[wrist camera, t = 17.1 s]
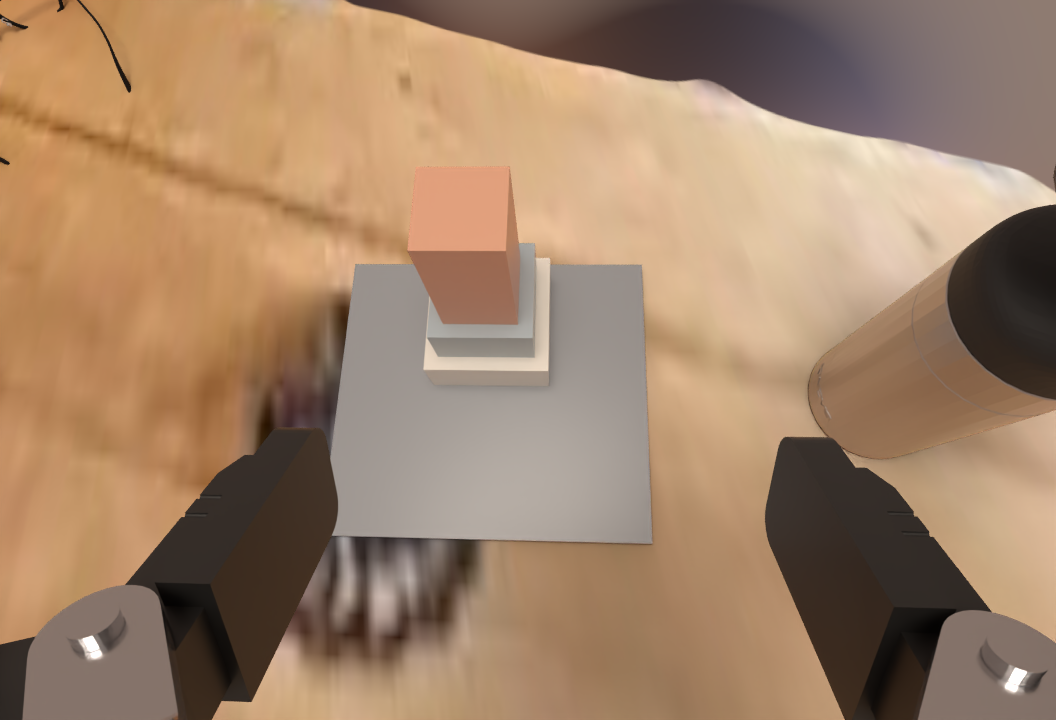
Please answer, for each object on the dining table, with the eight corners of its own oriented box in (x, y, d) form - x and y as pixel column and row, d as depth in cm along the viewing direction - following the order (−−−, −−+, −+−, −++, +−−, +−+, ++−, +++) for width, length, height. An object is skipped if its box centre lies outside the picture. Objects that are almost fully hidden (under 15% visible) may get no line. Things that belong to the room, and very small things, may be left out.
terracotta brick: (520, 256, 41) (509, 166, 31) (518, 324, 39) (505, 251, 30) (448, 256, 41) (415, 166, 32) (443, 324, 40) (407, 250, 30)
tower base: (550, 281, 49) (549, 230, 42) (548, 386, 46) (547, 352, 39) (442, 280, 50) (421, 230, 42) (434, 384, 47) (410, 351, 39)
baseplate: (640, 269, 50) (641, 264, 49) (650, 543, 43) (652, 543, 42) (358, 268, 51) (355, 264, 50) (324, 535, 44) (320, 535, 44)
